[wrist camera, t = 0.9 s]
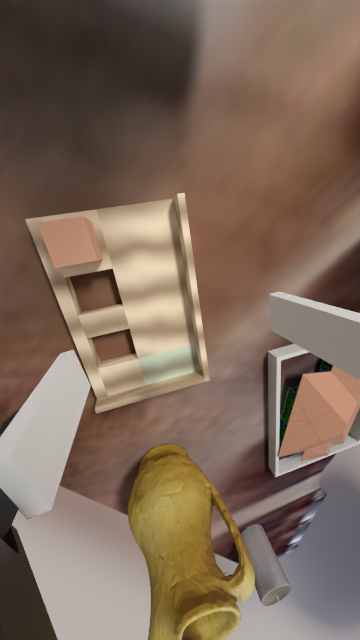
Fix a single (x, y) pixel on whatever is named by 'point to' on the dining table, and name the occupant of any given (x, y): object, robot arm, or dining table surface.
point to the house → (320, 413)
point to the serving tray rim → (278, 467)
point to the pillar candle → (265, 566)
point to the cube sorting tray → (136, 301)
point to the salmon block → (70, 241)
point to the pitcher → (185, 549)
